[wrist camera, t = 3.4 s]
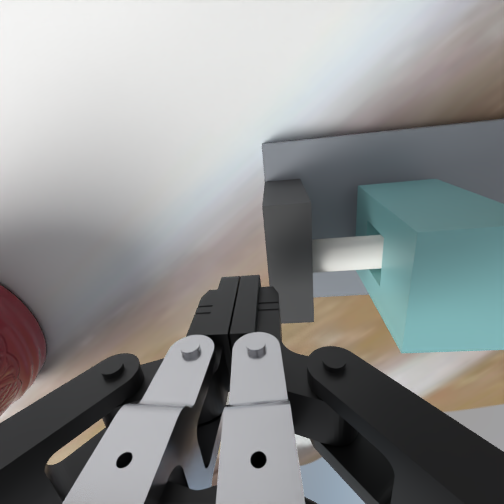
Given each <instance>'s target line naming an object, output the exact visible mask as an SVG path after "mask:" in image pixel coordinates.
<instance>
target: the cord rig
mask: <svg viewBox="0 0 504 504" xmlns="http://www.w3.org/2000/svg"><path fill="white" fill-rule="evenodd" d="M262 152H263V164H264V176H265V186H264V196H263V206H262V207H263V218H264V229H265V240H266V251H267V262H268V273H269V284H270V287H272V286H273V287H274V288H275V289H276V291H277V292H278V293H279V304H280V317H281V323H302V322H314V304H313V297H330V296H348V295H367V294H369V293H368V292H367V290H366V288H365V286H364V284H363V282H362V281H361V279H360V277H359V275H358V273H357V272H356V270H364V269H380V268H382V256H383V244H384V237H383V236H382V235H369V236H356V216H357V193H358V185H370V184H381V183H392V182H404V181H415V180H426V179H438V180H441V181H443V182H446V183H449V184H452V185H454V186H457V187H460V188H462V189H465V190H468V191H470V192H473V193H476V194H479V195H481V196H484V197H487V198H489V199H492V200H495V201H497V202H500V203H503V204H504V118H503V119H493V120H483V121H474V122H464V123H455V124H445V125H436V126H426V127H416V128H407V129H397V130H388V131H378V132H369V133H359V134H349V135H340V136H330V137H321V138H311V139H302V140H292V141H283V142H273V143H263V144H262Z"/></svg>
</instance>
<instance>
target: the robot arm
mask: <svg viewBox="0 0 504 504" xmlns="http://www.w3.org/2000/svg"><path fill="white" fill-rule="evenodd" d="M228 392H230V396H229V405H226V402H227V396H228ZM101 418H102V419H103V421H104V424H105V426H106V428H104V429H103V430H102V431H101V432H99V433H98V434H97V435H95V436H94V437H93V438H91V439H90V440H89V441H87V442H86V443H85V444H83V445H82V446H81V447H80V448H78V449H77V450H76V451H74V452H73V453H72V454H70V455H69V456H68V457H66V458H65V459H64V460H62V461H61V462H59V463H57V464H54V465H47V464H46V463H47V461H48V460H49V459H50V457H51V456H52V455H53V454H54V453H55V452H57V451H58V450H59V449H61V448H62V447H63V446H65V445H66V444H67V443H69V442H70V441H71V440H73V439H74V438H75V437H77V436H78V435H80V434H81V433H82V432H84V431H85V430H86V429H88V428H89V427H90V426H92V425H93V424H94V423H96V422H97V421H99V420H100V419H101ZM295 434H297V435H300V436H303V437H306V438H309V439H310V440H311V442H312V444H313V446H314V448H315V449H316V450H317V451H318V452H319V454H320V455H321V456H322V457H323V458H324V459H325V460H326V461H327V462H328V463H329V464H330V465H331V467H332V468H333V469H334V470H335V471H336V472H337V473H338V474H339V475H340V476H341V477H342V479H343V480H344V481H345V482H346V483H347V484H348V485H349V486H350V487H351V488H352V489H353V490H354V491H355V493H357V495H358V496H359V497H360V498H361V499H362V500H363V501H364V502H365V504H504V452H503V451H501V450H500V449H498V448H497V447H495V446H494V445H492V444H491V443H489V442H488V441H486V440H485V439H483V438H482V437H480V436H479V435H477V434H476V433H474V432H472V431H471V430H469V429H468V428H466V427H465V426H463V425H462V424H460V423H459V422H457V421H456V420H454V419H453V418H451V417H449V416H448V415H446V414H445V413H443V412H442V411H440V410H439V409H437V408H436V407H434V406H433V405H431V404H430V403H428V402H427V401H425V400H424V399H422V398H420V397H419V396H417V395H416V394H414V393H413V392H411V391H410V390H408V389H407V388H405V387H404V386H402V385H401V384H399V383H398V382H396V381H394V380H393V379H391V378H390V377H388V376H387V375H385V374H384V373H382V372H381V371H379V370H378V369H376V368H375V367H373V366H372V365H370V364H369V363H367V362H365V361H364V360H362V359H361V358H359V357H358V356H356V355H355V354H353V353H352V352H350V351H348V350H346V349H344V348H340V347H335V346H327V347H322V348H319V349H317V350H315V351H313V352H312V353H311V354H310V355H309V356H304V355H300V354H297V353H294V352H292V351H290V350H289V349H287V348H286V347H285V346H284V345H283V343H282V333H281V317H280V304H279V293H278V292H277V291H276V289H275V288H274V287H273V286H272V287H261V282H260V276H259V275H250V276H241V277H240V276H235V277H222V278H221V281H220V284H219V287H218V290H209V291H208V292H207V293H206V294H205V295H204V296H203V297H202V298H201V300H200V303H199V305H198V308H197V310H196V314H195V315H194V318H193V320H192V323H191V325H190V328H189V330H188V333H187V336H186V337H184V338H182V339H180V340H178V341H177V342H175V343H174V344H173V345H172V346H171V347H170V349H169V351H168V352H167V354H166V356H165V358H163V359H160V360H157V361H153V362H150V363H146V364H143V365H140V362H139V359H138V358H137V357H136V356H135V355H133V354H128V353H124V354H118V355H114V356H111V357H109V358H107V359H105V360H103V361H102V362H100V363H98V364H97V365H95V366H93V367H92V368H90V369H88V370H87V371H85V372H84V373H82V374H80V375H79V376H77V377H75V378H74V379H72V380H70V381H69V382H67V383H66V384H64V385H62V386H61V387H59V388H57V389H56V390H54V391H52V392H51V393H49V394H47V395H46V396H44V397H43V398H41V399H39V400H38V401H36V402H34V403H33V404H31V405H29V406H28V407H26V408H25V409H23V410H21V411H20V412H18V413H16V414H15V415H13V416H11V417H10V418H8V419H6V420H5V421H3V422H2V423H0V504H317V503H316V502H314V501H312V500H310V499H308V498H306V497H304V492H303V485H302V479H301V472H300V466H299V459H298V453H297V446H296V439H295ZM220 442H221V447H220V459H219V471H218V483H217V485H216V486H213V487H212V477H213V472H214V467H215V463H216V459H217V455H218V450H219V446H220Z"/></svg>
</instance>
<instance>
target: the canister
mask: <svg viewBox="0 0 504 504" xmlns="http://www.w3.org/2000/svg"><path fill="white" fill-rule="evenodd" d="M45 359H46V342H45V338H44V335H43V332H42V330H41V328H40V326H39V324H38V322H37V320H36V319H35V317H34V316H33V314H32V313H31V312H30V311H29V309H28V308H27V307H26V306H25V305H24V304H23V303H22V302H21V301H20V300H19V299H18V298H17V297H16V296H15V295H14V294H12V293H11V292H10V291H9V290H7V289H6V288H5V287H3V286H2V285H0V416H1V415H2V414H3V413H4V412H5V411H6V409H7V408H8V407H9V406H10V405H11V404H12V403H14V402H15V401H17V400H18V399H19V398H20V397H21V396H22V395H23V394H24V393H25V392H26V390H27V389H28V388H29V387H30V386H31V385H32V384H33V382H34V381H35V379H36V377H37V374H38V373H39V371H40V370H41V369H42V367H43V365H44V362H45Z"/></svg>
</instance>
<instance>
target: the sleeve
mask: <svg viewBox="0 0 504 504" xmlns="http://www.w3.org/2000/svg"><path fill="white" fill-rule="evenodd" d="M369 235H382V236H383V237H384V244H383V256H382V268H380V269H364V270H356V272H357V273H358V275H359V277H360V279H361V281H362V282H363V284H364V286H365V288H366V290H367V292H368V293H369V295H370V297H371V299H372V301H373V302H374V304H375V306H376V308H377V310H378V311H379V313H380V315H381V317H382V319H383V321H384V322H385V324H386V326H387V328H388V330H389V331H390V333H391V335H392V337H393V339H394V340H395V342H396V344H397V346H398V348H399V350H400V351H401V353H423V352H452V351H482V350H504V204H503V203H500V202H497V201H495V200H492V199H489V198H487V197H484V196H481V195H479V194H476V193H473V192H470V191H468V190H465V189H462V188H460V187H457V186H454V185H452V184H449V183H446V182H443V181H441V180H438V179H426V180H415V181H404V182H392V183H381V184H370V185H358V193H357V216H356V236H369Z"/></svg>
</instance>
